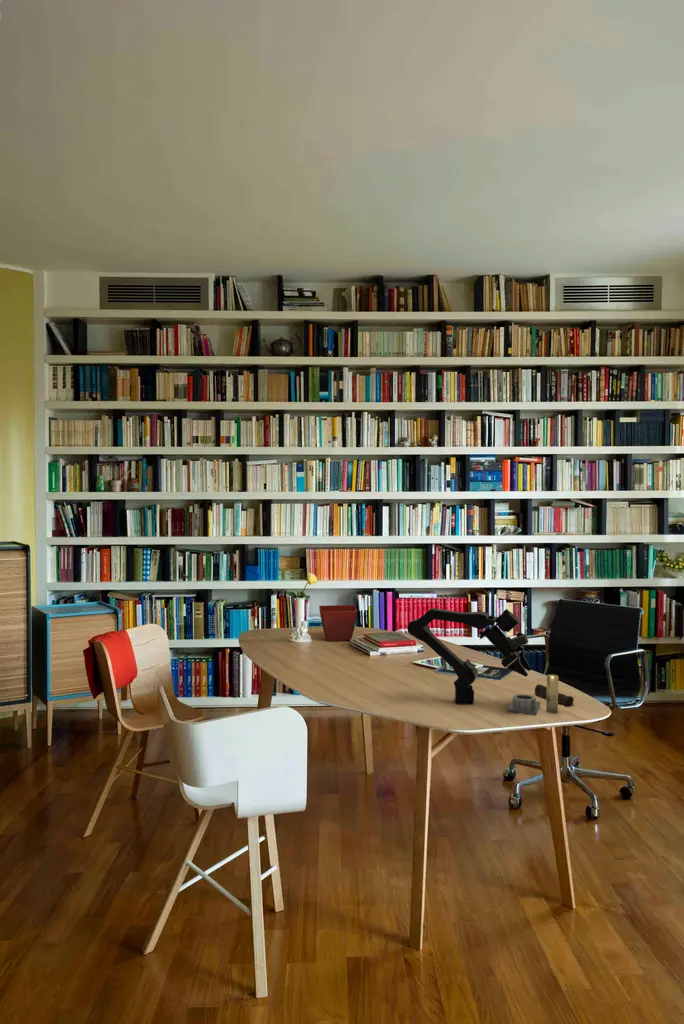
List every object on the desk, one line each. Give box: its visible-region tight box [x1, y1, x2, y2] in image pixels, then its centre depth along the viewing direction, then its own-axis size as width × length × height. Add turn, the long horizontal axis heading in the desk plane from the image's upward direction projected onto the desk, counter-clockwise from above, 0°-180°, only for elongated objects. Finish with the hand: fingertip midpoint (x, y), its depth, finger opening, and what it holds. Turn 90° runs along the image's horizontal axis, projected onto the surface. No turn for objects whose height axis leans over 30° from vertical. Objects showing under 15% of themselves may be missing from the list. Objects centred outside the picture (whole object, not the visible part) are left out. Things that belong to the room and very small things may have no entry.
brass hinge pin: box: [545, 674, 559, 714], centre depth 279 cm, size 4×4×13 cm
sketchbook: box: [433, 664, 514, 681], centre depth 340 cm, size 22×30×2 cm
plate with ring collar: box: [506, 693, 541, 716], centre depth 282 cm, size 10×14×4 cm
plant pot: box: [318, 604, 358, 642], centre depth 412 cm, size 19×19×17 cm
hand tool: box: [534, 683, 575, 708], centre depth 294 cm, size 19×4×5 cm, turn 25°
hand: (528, 673), depth 282 cm, fingers open, 9 cm apart
